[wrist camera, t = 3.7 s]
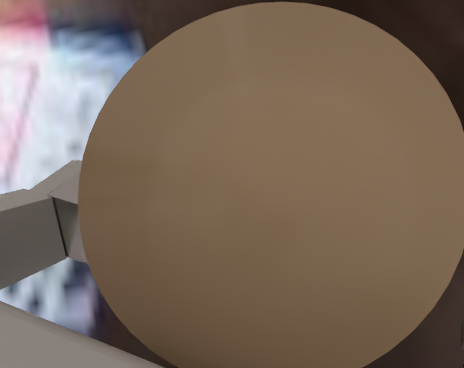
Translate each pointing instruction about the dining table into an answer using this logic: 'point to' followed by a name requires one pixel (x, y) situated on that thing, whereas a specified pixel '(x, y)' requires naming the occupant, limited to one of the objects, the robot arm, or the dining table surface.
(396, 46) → the canister
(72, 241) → the robot arm
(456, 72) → the dining table surface
